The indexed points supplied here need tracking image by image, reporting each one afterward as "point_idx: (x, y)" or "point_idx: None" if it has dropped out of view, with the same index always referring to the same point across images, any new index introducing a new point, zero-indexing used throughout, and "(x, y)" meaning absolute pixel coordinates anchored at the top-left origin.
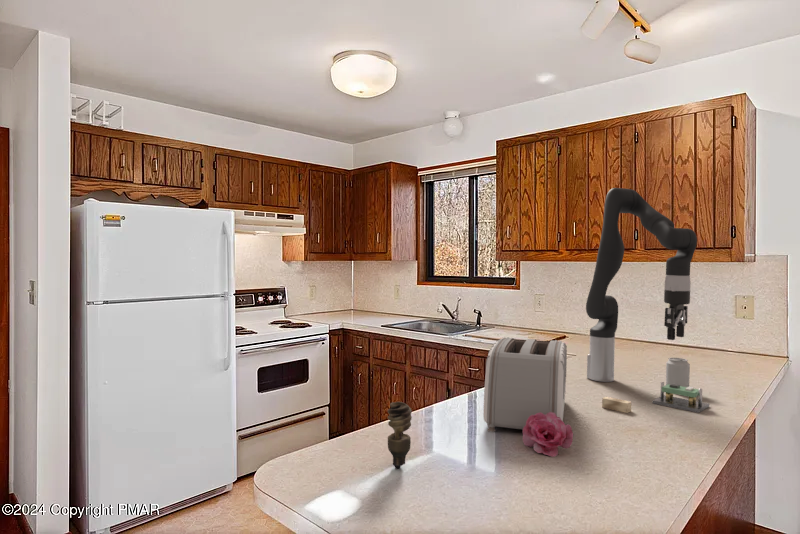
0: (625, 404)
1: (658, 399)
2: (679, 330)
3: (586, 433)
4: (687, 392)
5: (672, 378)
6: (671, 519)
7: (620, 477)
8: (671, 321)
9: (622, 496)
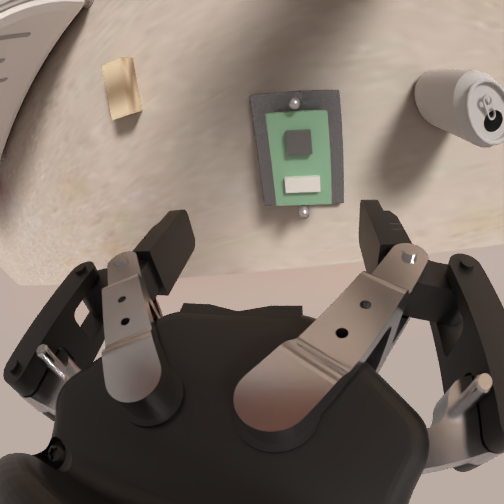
0: (113, 116)
1: (273, 100)
2: (369, 243)
3: (26, 161)
4: (274, 186)
5: (430, 93)
6: (23, 285)
7: (16, 245)
8: (82, 328)
9: (11, 259)
